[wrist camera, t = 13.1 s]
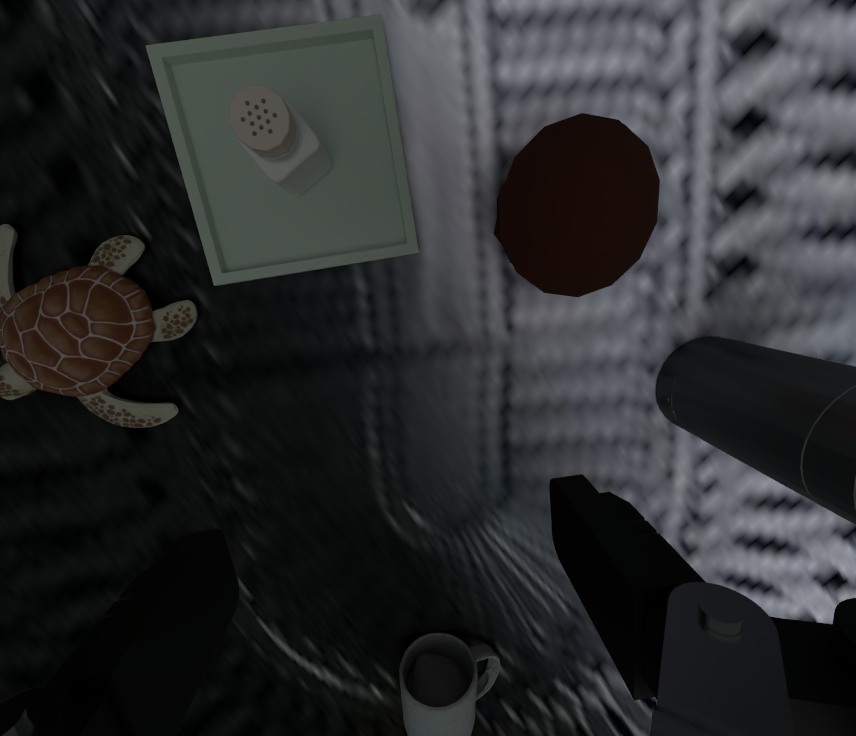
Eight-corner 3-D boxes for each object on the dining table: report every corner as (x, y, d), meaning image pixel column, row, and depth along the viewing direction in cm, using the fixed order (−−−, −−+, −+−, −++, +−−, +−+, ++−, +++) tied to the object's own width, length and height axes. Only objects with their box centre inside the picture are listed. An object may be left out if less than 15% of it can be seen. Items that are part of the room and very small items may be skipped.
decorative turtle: (-74, 295, 32) (-157, 300, 27) (92, 170, 31) (37, 152, 26) (102, 466, 36) (57, 497, 31) (251, 362, 35) (229, 377, 30)
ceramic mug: (402, 695, 45) (406, 779, 38) (397, 635, 43) (400, 713, 36) (496, 681, 46) (518, 760, 39) (495, 622, 44) (518, 694, 37)
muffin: (513, 119, 32) (566, 55, 22) (632, 175, 34) (729, 139, 24) (457, 264, 34) (484, 263, 25) (572, 310, 36) (638, 326, 26)
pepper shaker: (336, 167, 31) (313, 125, 22) (296, 201, 31) (258, 174, 22) (299, 120, 30) (259, 56, 21) (259, 156, 30) (203, 109, 21)
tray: (382, 29, 30) (381, 14, 28) (417, 253, 34) (418, 252, 32) (160, 58, 29) (145, 45, 27) (223, 284, 33) (214, 285, 31)
